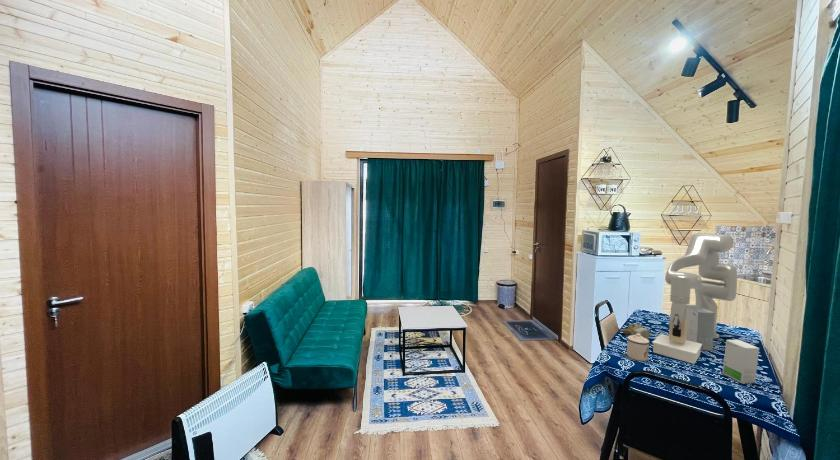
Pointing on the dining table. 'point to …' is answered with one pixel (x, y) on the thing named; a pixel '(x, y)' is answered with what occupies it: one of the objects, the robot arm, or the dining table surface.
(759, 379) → the dining table surface
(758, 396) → the dining table surface
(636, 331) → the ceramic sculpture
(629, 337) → the teacup with lid
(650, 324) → the dining table surface
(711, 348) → the hard drive box
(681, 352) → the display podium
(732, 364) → the skincare box
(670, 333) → the kraft carton
